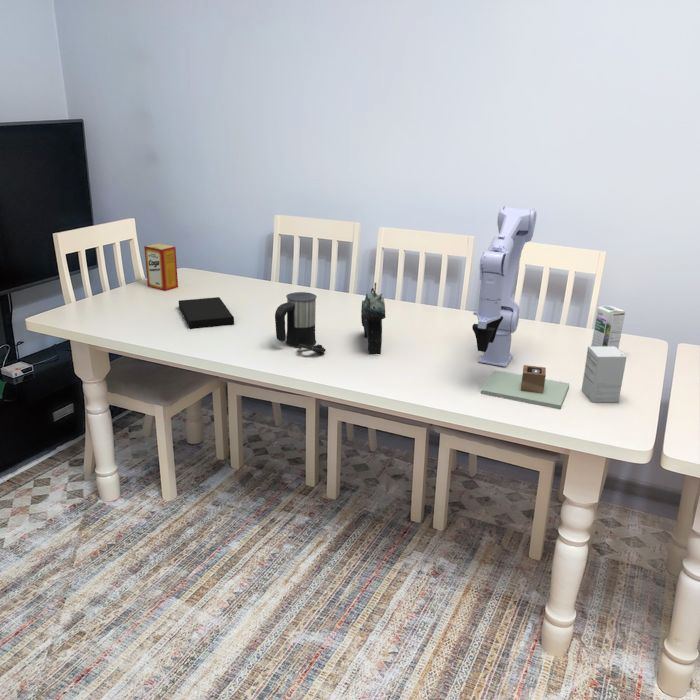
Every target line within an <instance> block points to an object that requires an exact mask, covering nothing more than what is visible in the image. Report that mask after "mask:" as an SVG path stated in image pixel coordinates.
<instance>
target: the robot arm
mask: <svg viewBox="0 0 700 700" xmlns="http://www.w3.org/2000/svg"><path fill="white" fill-rule="evenodd" d="M498 210H499V211H498V213H497V214H498V215H497V221H496V222H497V223H496V225H497V228H498V229H497V230H498V234H496V235H495V236H494V237H493V238H492V240H491V242H490V243H489V244H490V245H489V246H488V249H487V250H485V252H482V253H481V256H480V260H479V280H480V288H479V298H478V306H477V307H478V310H474V311H473V312H472V315H473V316H476V318H477V320H478V322H477V323H473V324H472V331H473V333H474V336H475V339H476V346H477V347H476V348H477V351H478V352H482V355H481V357H480V358H479V360H478V363H482V364H487V365H493V366H497V367H505V368H506V367H507V366H508V365H509V363H510V362H511V360H512V358H513V357H514V354H511V344H512V337H513V336H512V334H514V333H515V332H516V331H517V329H518V325H519V322H520V321H519V319H520V306H519V305H518V304H517V302H516V301H515V300H514V299H513V296H514V295H513V294H514V290H515V285H516V281H517V276H518V272H519V267H520V261H521V256H522V251H523V249H524V247H525V244H526V243H529V242H531V241H532V239H533V238H534V237H533V236H534V232H535V227H536V221H537V211H536V209H535V208H524V207H523V208H522V207H521V208H520V207H513V206H512V207H511V206H506V205H502V206H501V207H500V208H499V209H498Z"/></svg>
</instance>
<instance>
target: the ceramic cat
mask: <svg viewBox="0 0 700 700" xmlns="http://www.w3.org/2000/svg"><path fill="white" fill-rule="evenodd" d="M376 290H377V282H375V283H374V288H373V287H372V288H371V289H370V292H367V293H366V295H365V298H364V300H363V299H362V301H361V308H360V309H361V311H360V313H361V314H360V319H361V326H362V327H363V335H364V338H366V339H367V351H368V354H369V355H370V354H380V355H381V353H382V341H383V320H384V319H386V317H387V315H386V304H385V299H384V297H383V293H380V294H379V295H378V293H377V291H376Z"/></svg>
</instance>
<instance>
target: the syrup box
mask: <svg viewBox="0 0 700 700" xmlns="http://www.w3.org/2000/svg"><path fill="white" fill-rule="evenodd" d="M625 315H626V310H623V309H621V308H618V307H615V306H612V305H602V306H597V311H596V315H595V321H594V329H593V334H592V340H591V346H593V347H612V346H614V347H616V348H617V349H618V350H619V347H620V342H621V337H622V331H623V327H624V326H623V325H624V321H625Z"/></svg>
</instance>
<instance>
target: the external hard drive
mask: <svg viewBox="0 0 700 700" xmlns="http://www.w3.org/2000/svg"><path fill="white" fill-rule="evenodd" d="M178 309H179V311H180V312H181V315H182V317H183V319H184V320H185V322H186V325H187V327H188V328H189V330H195V329H203V328H204V329H205V328H216V327H225V326H235V317H234V315H233V314H232V313H231V311H230V310H229V309H228V307H227V306H226V305H225V303H224V302H223V300H222V299H221V297H218V296H217V297H215V296H214V297H206V298H205V297H204V298H194V299H191V298H190V299H181V300H178Z"/></svg>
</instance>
